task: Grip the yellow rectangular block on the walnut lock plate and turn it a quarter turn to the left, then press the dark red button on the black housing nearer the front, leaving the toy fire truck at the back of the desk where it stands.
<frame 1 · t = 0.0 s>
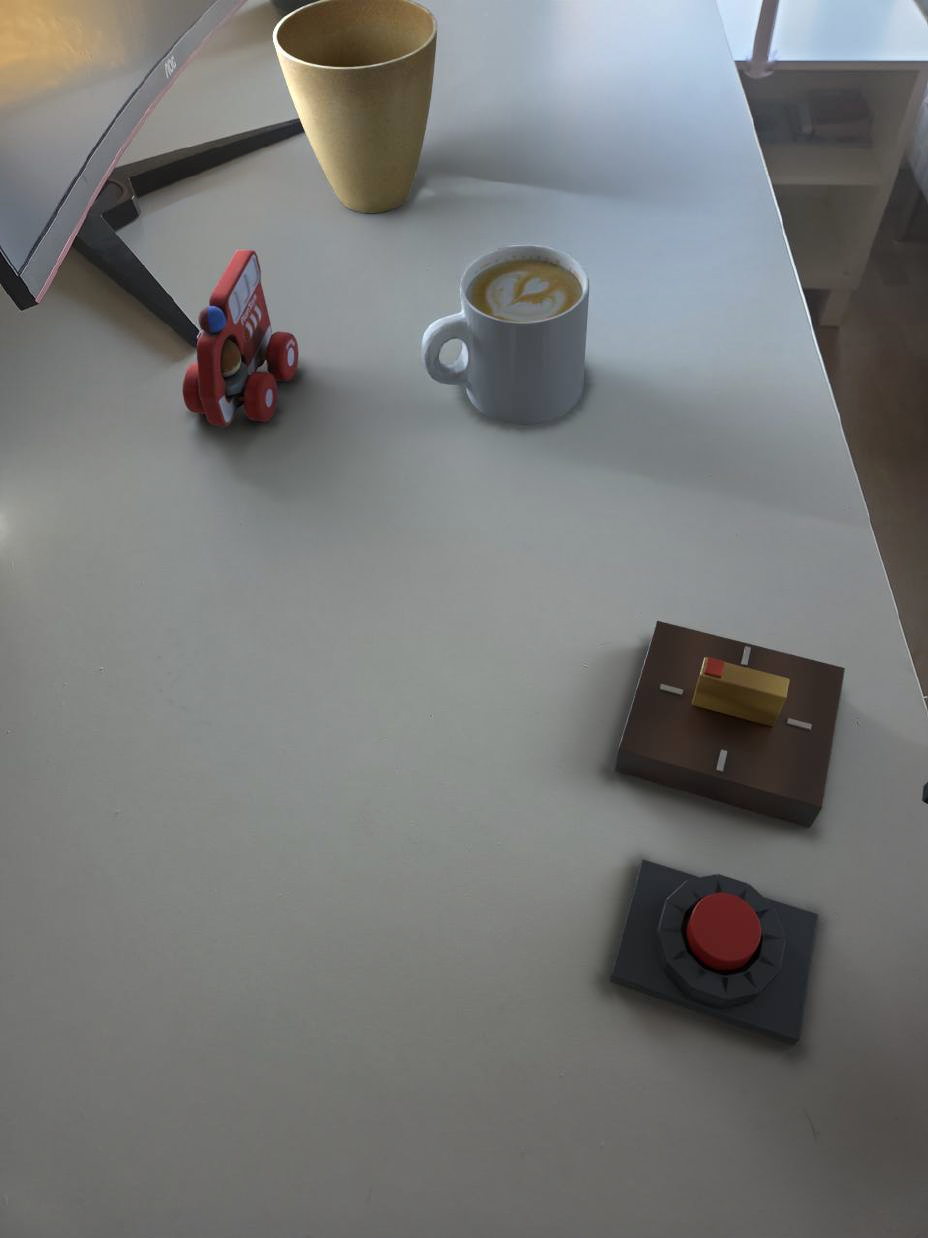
bell button: (723, 931, 51), point 3 cm above the table, slide at 0.1 cm
toy fire truck: (248, 393, 83), on the table
yellow rectangular block: (739, 691, 58), point 5 cm above the table, hinge at 0.0°
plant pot: (377, 195, 100), on the table
bell housing: (712, 951, 54), on the table
coffee mug: (504, 388, 82), on the table
lock plate: (725, 731, 62), on the table
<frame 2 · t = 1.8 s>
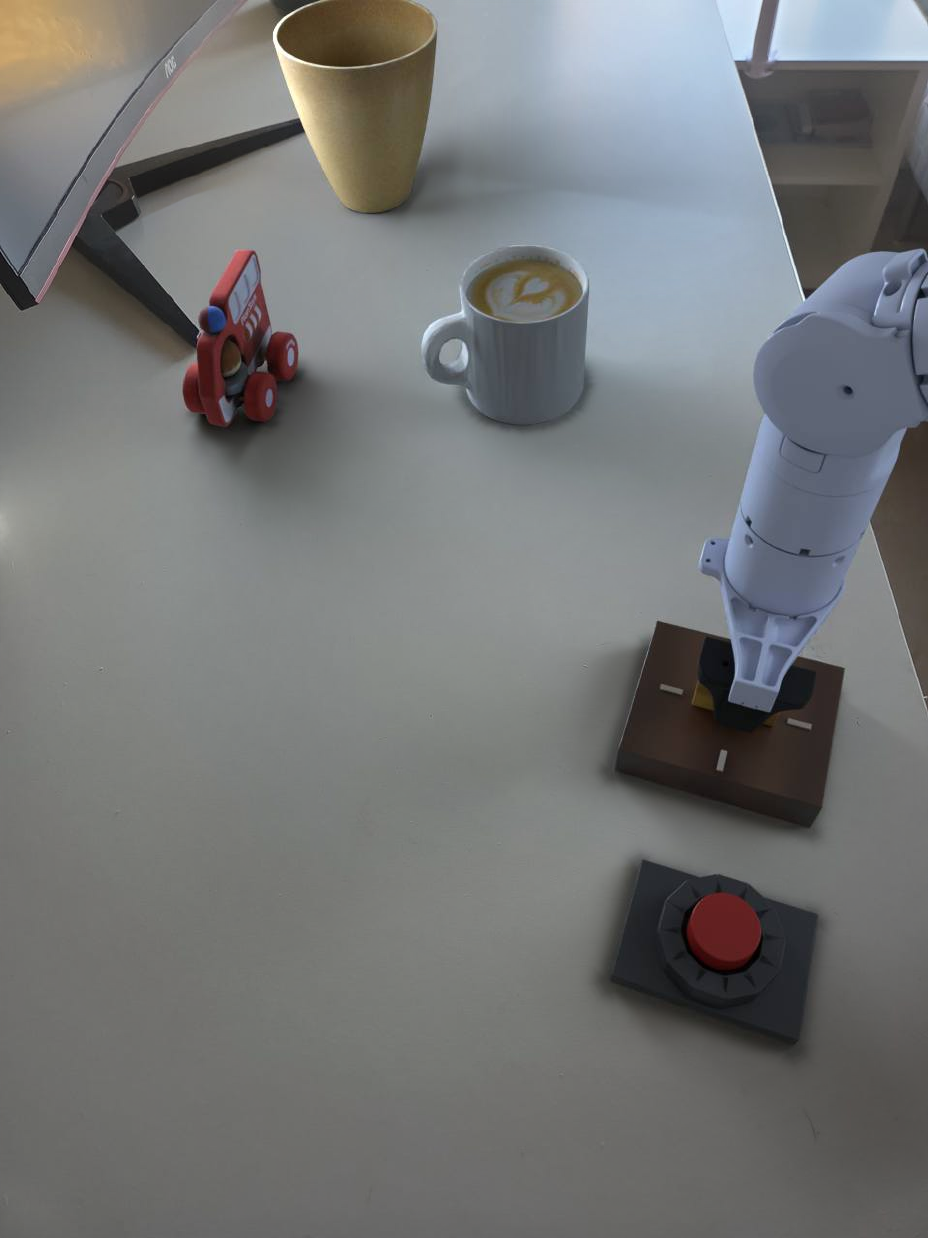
hand: (747, 667, 55), 8 cm above the table, tool pointing down, fingers open, 7 cm apart
nothing on the table moved.
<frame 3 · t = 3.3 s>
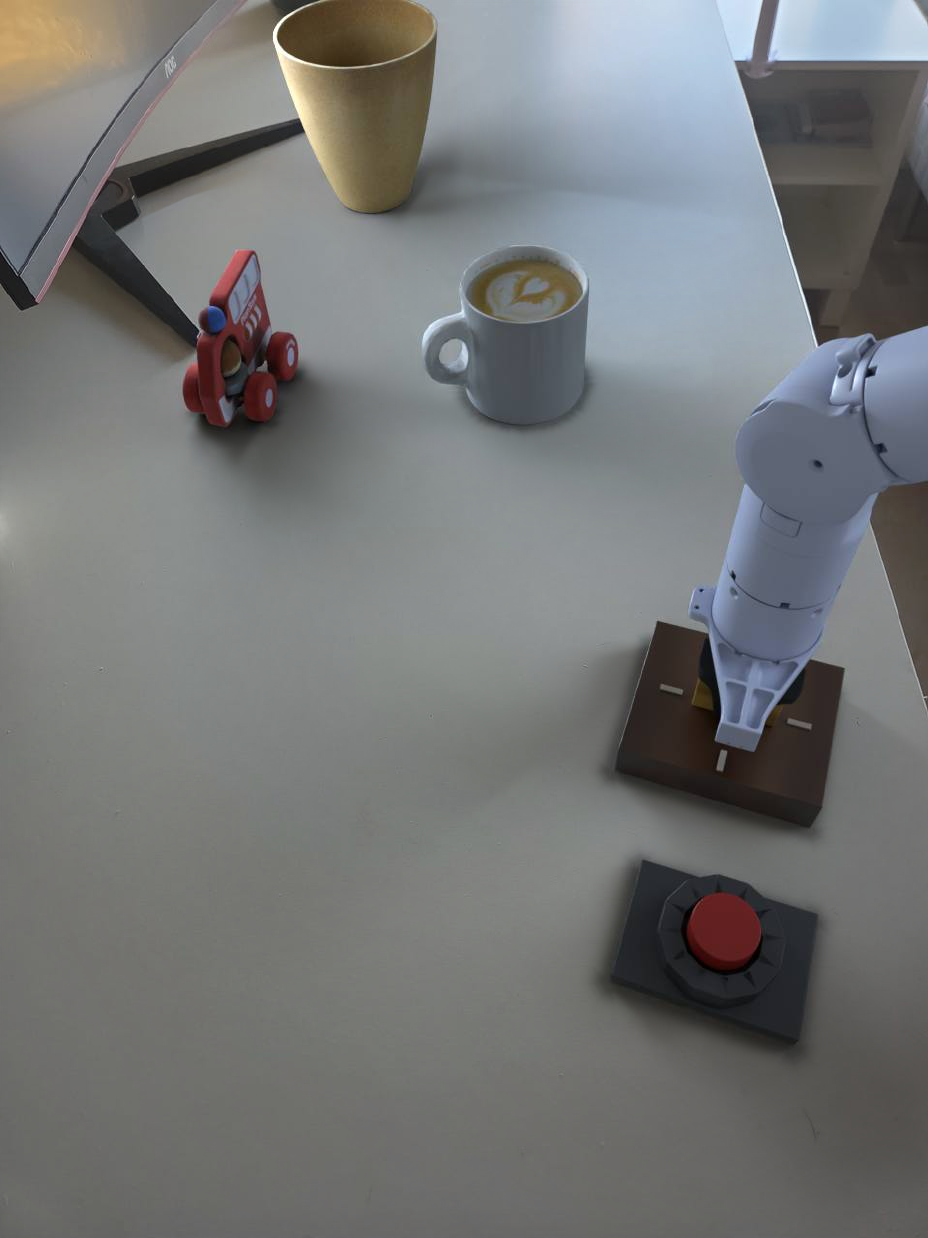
hand: (735, 703, 59), 4 cm above the table, tool pointing down, fingers closed on yellow rectangular block
yellow rectangular block: (739, 691, 58), point 5 cm above the table, hinge at 0.1°, touching gripper
everything else where it was.
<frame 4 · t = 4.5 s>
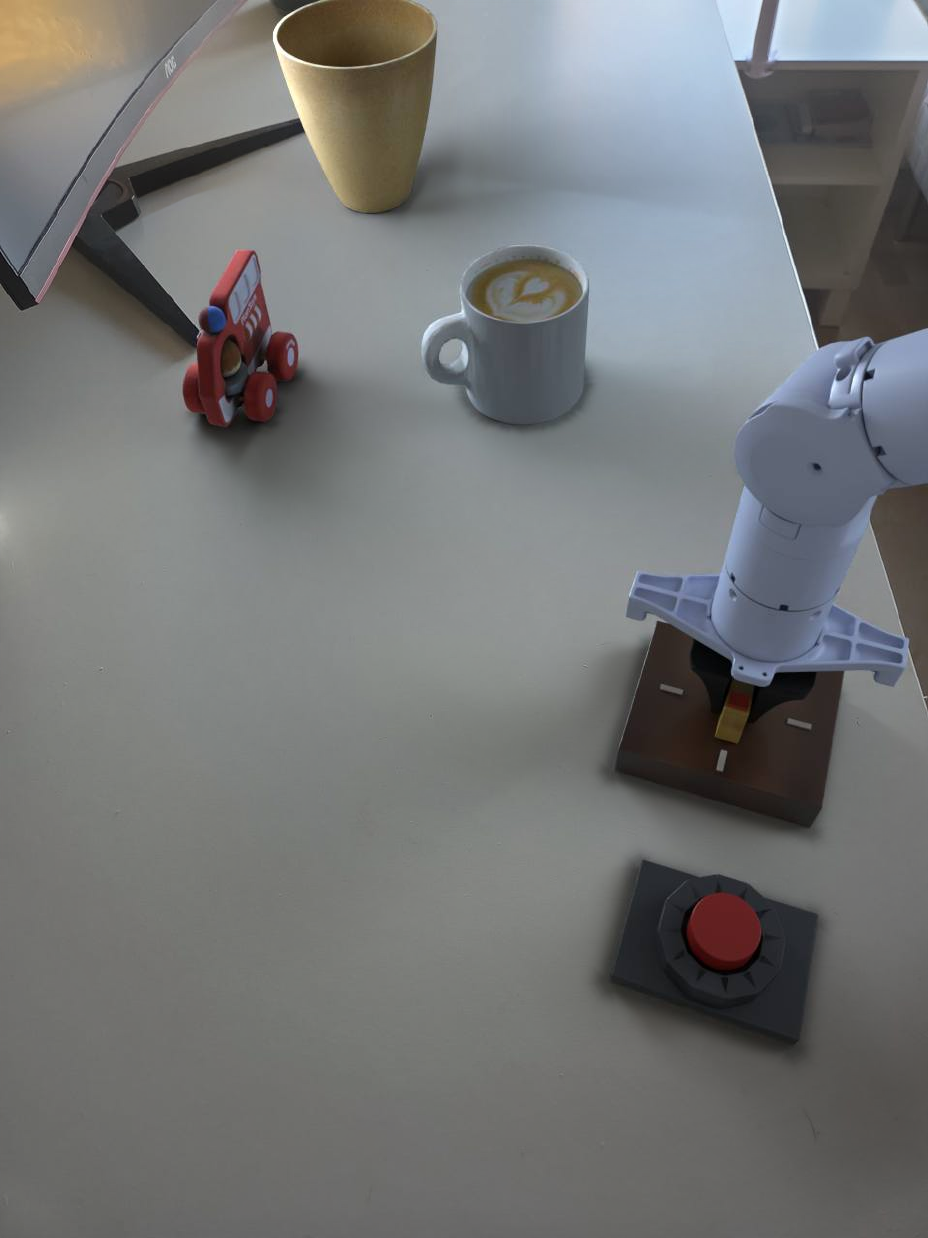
hand: (734, 704, 59), 3 cm above the table, tool pointing down, fingers closed on yellow rectangular block
yellow rectangular block: (739, 691, 58), point 5 cm above the table, hinge at 89.5°, touching gripper
everything else where it was.
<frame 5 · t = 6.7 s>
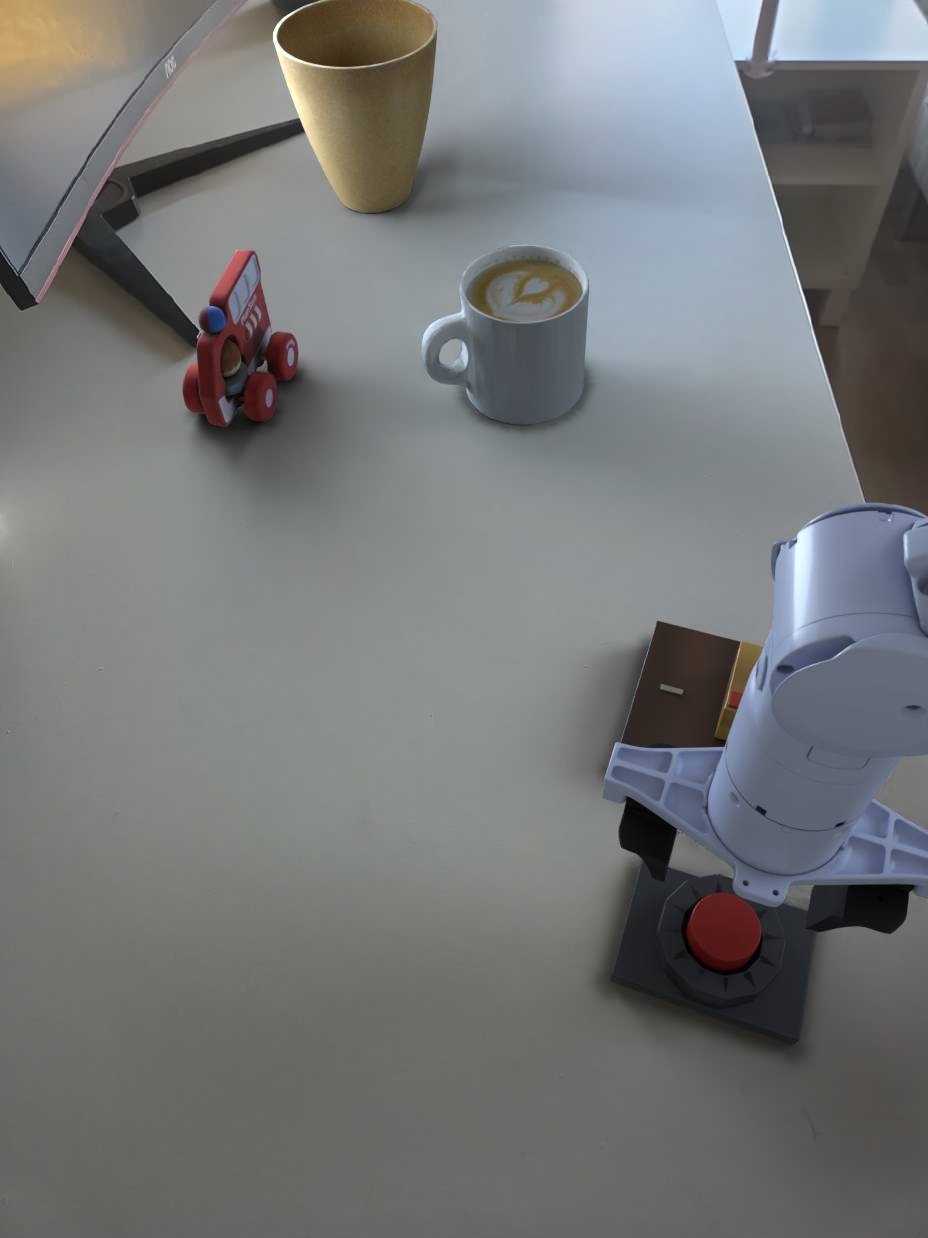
hand: (737, 886, 48), 7 cm above the table, tool pointing down, fingers open, 7 cm apart
yellow rectangular block: (739, 691, 58), point 5 cm above the table, hinge at 89.5°
everything else where it was.
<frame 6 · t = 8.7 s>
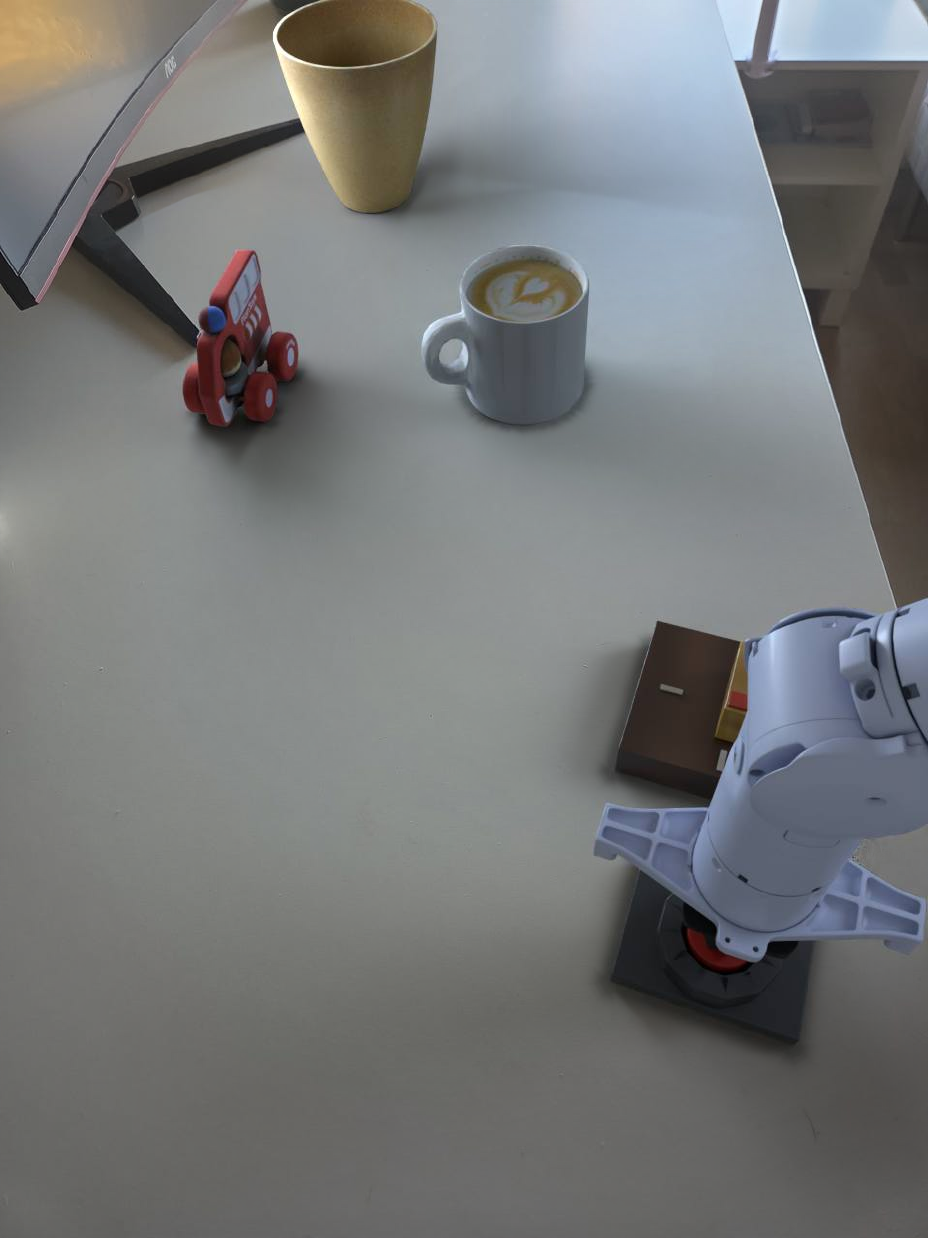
hand: (722, 932, 51), 3 cm above the table, tool pointing down, fingers closed, pressing on bell button
bell button: (719, 937, 52), point 2 cm above the table, slide at -1.0 cm, touching gripper
everything else where it was.
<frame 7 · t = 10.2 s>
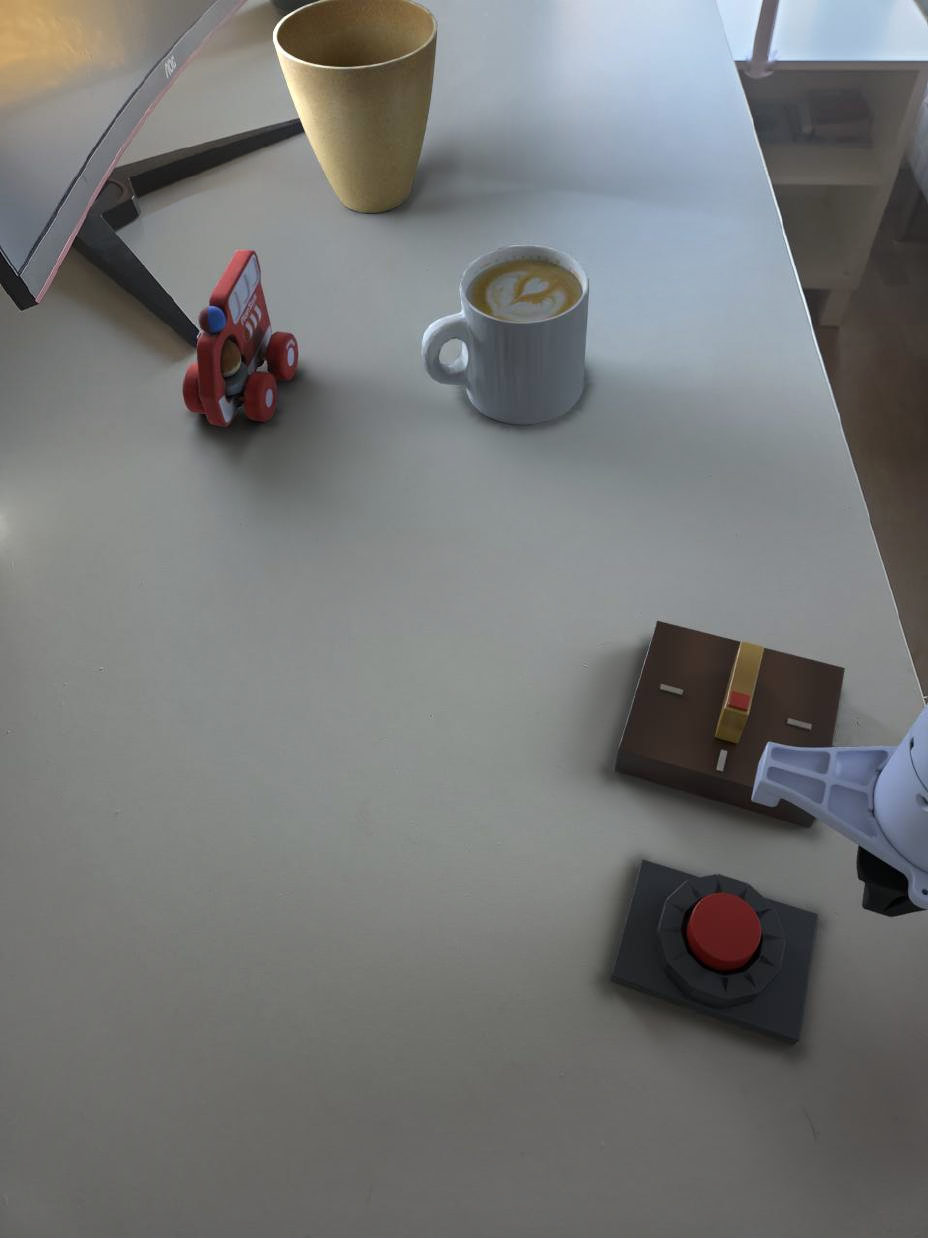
hand: (879, 893, 46), 9 cm above the table, tool pointing down, fingers closed
bell button: (723, 931, 51), point 3 cm above the table, slide at 0.1 cm
everything else where it was.
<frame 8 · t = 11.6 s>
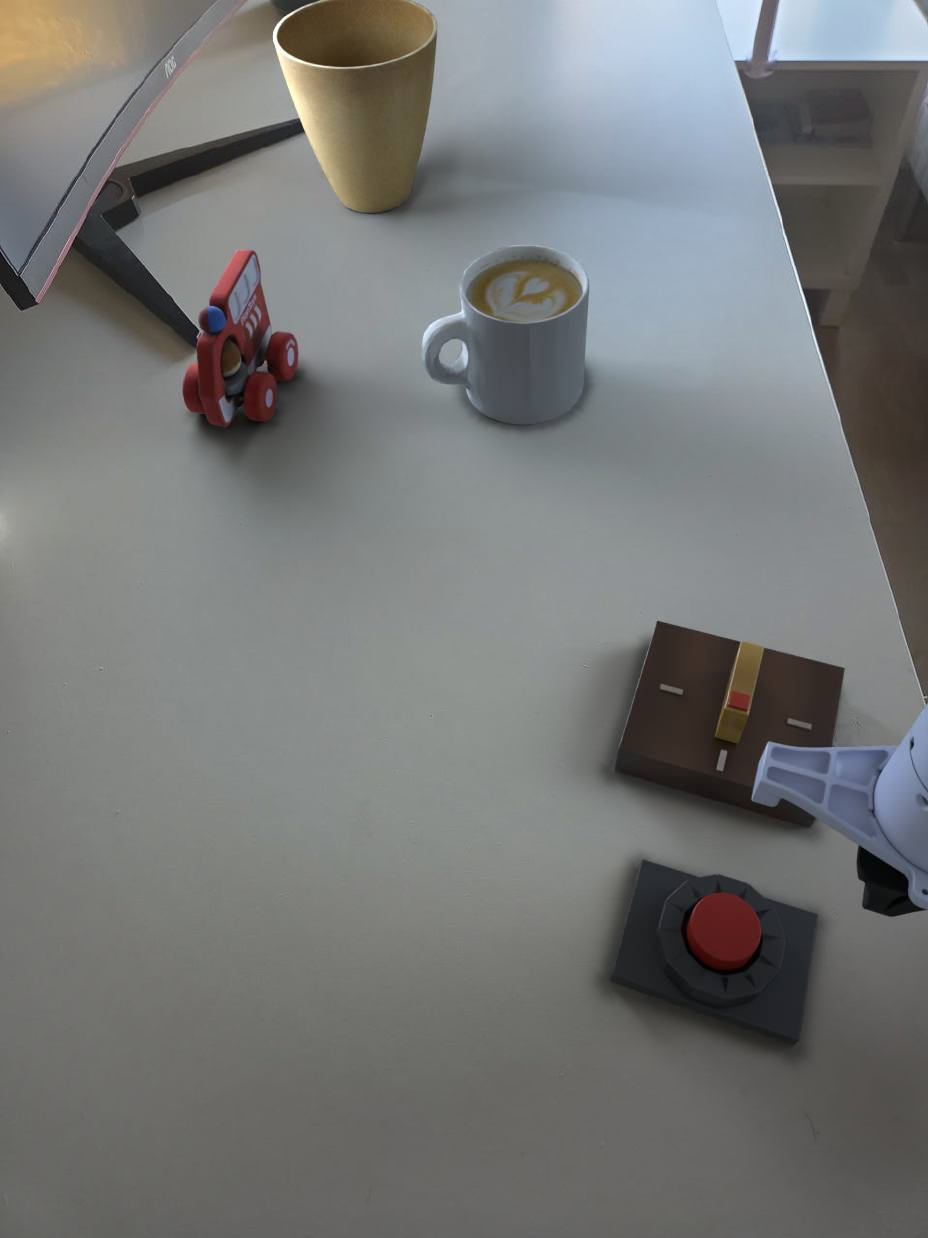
hand: (879, 893, 46), 9 cm above the table, tool pointing down, fingers closed
nothing on the table moved.
at the end: yellow rectangular block at +90° (first picture: +0°); bell button pushed in 1.2 cm at the most during the clip, back to where it started at the end; toy fire truck moved 0.2 cm from its start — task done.
